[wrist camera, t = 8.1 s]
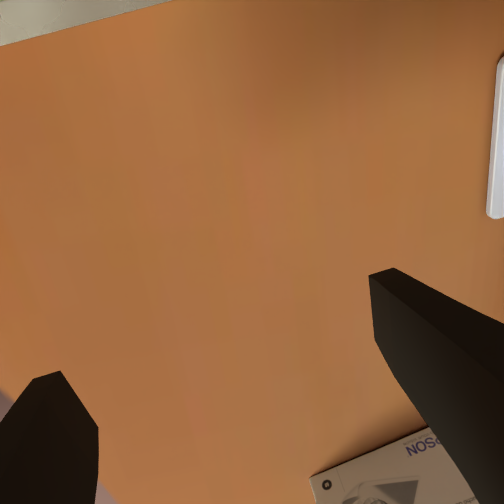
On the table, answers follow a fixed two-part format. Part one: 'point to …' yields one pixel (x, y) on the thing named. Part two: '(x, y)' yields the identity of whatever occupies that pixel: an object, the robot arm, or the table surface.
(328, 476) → the ink box
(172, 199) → the table surface
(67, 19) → the grey tray holder
